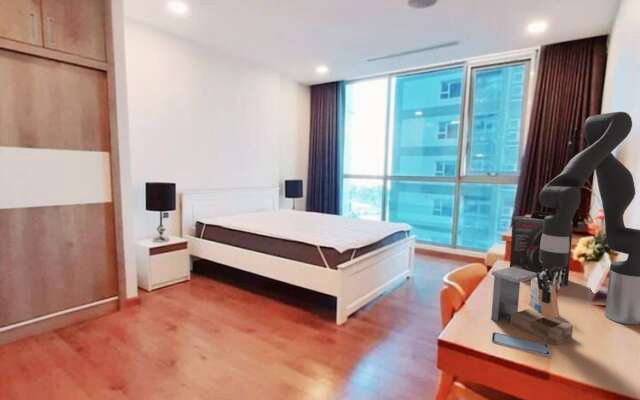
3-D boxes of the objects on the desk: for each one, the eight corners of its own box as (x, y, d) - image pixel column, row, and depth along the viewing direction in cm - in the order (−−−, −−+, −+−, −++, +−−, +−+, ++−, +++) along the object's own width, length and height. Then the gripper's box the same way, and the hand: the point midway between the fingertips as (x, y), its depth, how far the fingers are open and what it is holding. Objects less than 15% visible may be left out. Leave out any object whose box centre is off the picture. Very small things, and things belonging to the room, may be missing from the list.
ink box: (552, 313, 123) (555, 283, 122) (537, 312, 124) (540, 282, 123) (542, 304, 132) (544, 275, 131) (528, 303, 133) (530, 274, 132)
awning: (509, 311, 125) (513, 266, 123) (534, 321, 117) (538, 273, 115) (488, 318, 118) (491, 271, 117) (513, 329, 111) (517, 279, 109)
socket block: (526, 319, 118) (527, 308, 118) (571, 337, 106) (572, 325, 106) (510, 325, 113) (511, 314, 113) (555, 345, 101) (556, 332, 101)
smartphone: (492, 331, 108) (548, 344, 101) (492, 334, 108) (547, 346, 101) (491, 341, 102) (550, 355, 94) (491, 344, 102) (550, 358, 94)
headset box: (507, 275, 168) (512, 210, 165) (510, 269, 178) (515, 208, 175) (568, 286, 153) (575, 215, 150) (567, 279, 163) (574, 213, 160)
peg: (559, 315, 106) (554, 280, 107) (553, 317, 104) (549, 282, 105) (547, 313, 109) (543, 279, 110) (541, 315, 107) (537, 281, 108)
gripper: (555, 254, 98) (550, 310, 100) (578, 249, 105) (573, 301, 107) (529, 248, 105) (524, 301, 107) (552, 244, 112) (548, 293, 114)
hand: (549, 301), depth 107 cm, fingers closed on peg, 3 cm apart
